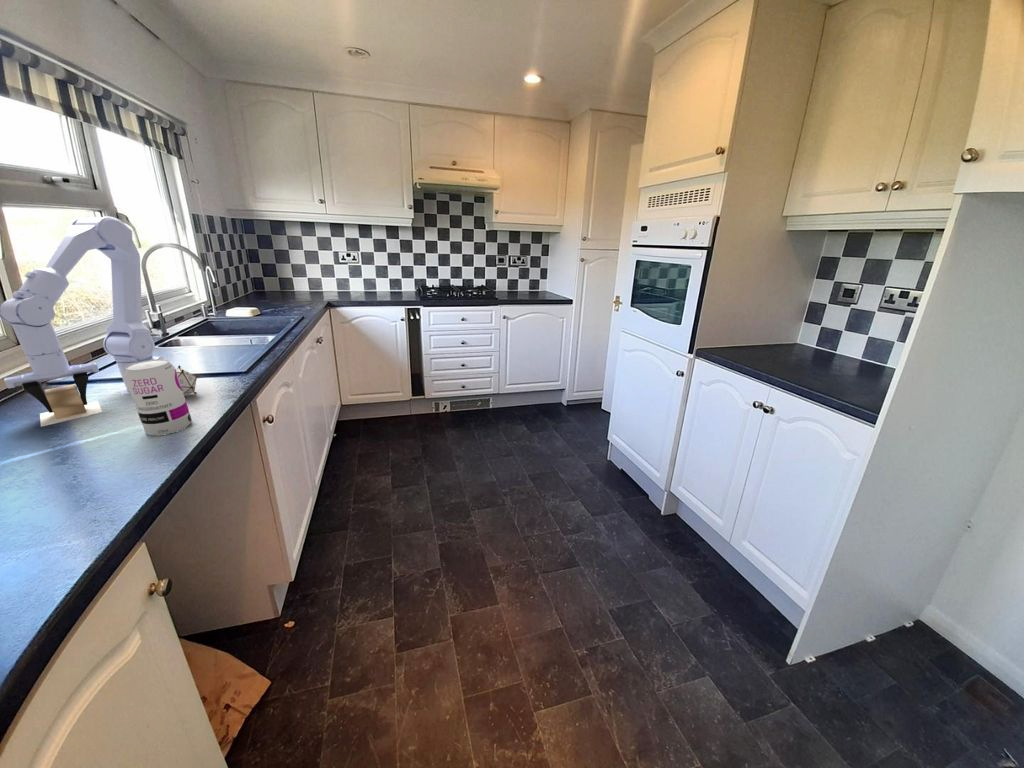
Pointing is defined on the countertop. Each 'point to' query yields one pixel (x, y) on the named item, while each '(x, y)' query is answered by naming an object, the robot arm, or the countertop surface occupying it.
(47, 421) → the tile
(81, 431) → the countertop surface
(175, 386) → the supplement can
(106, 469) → the countertop surface
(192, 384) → the game die
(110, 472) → the countertop surface
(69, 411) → the oak cube
